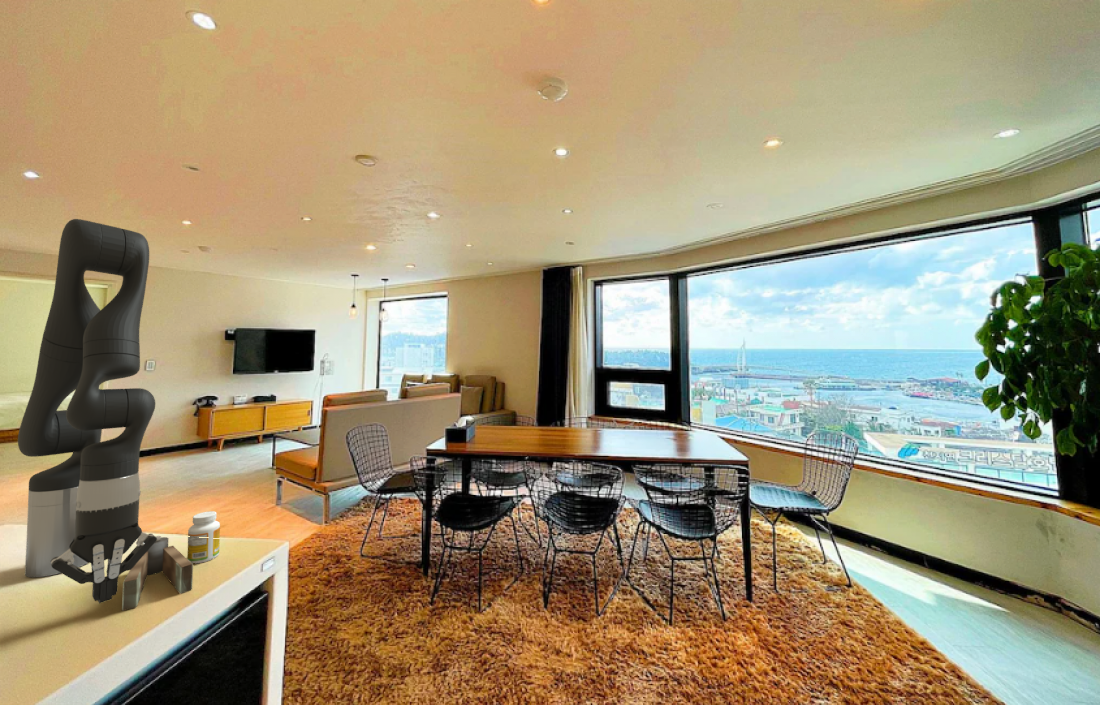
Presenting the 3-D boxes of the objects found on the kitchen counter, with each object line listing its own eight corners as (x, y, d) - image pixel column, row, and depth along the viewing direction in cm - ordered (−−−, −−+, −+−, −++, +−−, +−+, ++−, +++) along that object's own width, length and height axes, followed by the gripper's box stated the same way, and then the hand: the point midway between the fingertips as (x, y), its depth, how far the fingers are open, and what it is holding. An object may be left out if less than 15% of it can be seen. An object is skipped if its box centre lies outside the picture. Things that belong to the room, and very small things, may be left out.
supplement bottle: (211, 550, 92) (212, 508, 92) (224, 555, 90) (225, 512, 90) (182, 560, 87) (183, 516, 87) (194, 566, 85) (196, 520, 85)
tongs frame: (138, 571, 82) (139, 538, 83) (167, 562, 86) (168, 531, 86) (160, 600, 73) (162, 563, 73) (192, 589, 76) (193, 554, 76)
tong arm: (135, 578, 80) (136, 553, 80) (148, 575, 81) (149, 551, 81) (122, 610, 69) (123, 582, 70) (136, 607, 71) (137, 578, 71)
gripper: (155, 487, 78) (151, 576, 77) (47, 507, 67) (41, 611, 66) (165, 495, 73) (161, 590, 73) (51, 517, 63) (45, 628, 62)
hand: (104, 599), depth 70 cm, fingers closed
